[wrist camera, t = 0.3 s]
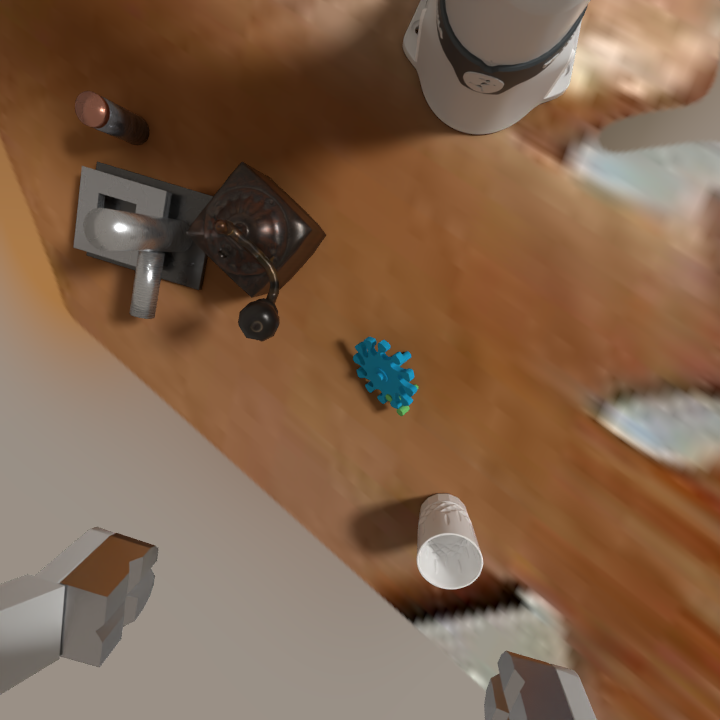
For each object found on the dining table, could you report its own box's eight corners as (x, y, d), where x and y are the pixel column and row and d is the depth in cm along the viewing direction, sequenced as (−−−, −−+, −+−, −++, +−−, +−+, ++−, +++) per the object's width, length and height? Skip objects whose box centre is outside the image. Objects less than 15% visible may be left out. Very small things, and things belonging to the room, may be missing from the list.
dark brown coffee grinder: (215, 241, 55) (126, 234, 38) (268, 174, 53) (199, 133, 35) (301, 324, 57) (254, 353, 39) (358, 262, 54) (334, 266, 37)
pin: (125, 111, 53) (76, 87, 45) (150, 119, 53) (106, 95, 45) (121, 140, 54) (73, 121, 46) (146, 148, 54) (102, 130, 46)
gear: (339, 342, 55) (390, 341, 47) (370, 322, 58) (423, 318, 50) (370, 413, 58) (423, 423, 51) (398, 390, 62) (452, 396, 54)
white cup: (438, 478, 60) (443, 521, 50) (482, 510, 60) (496, 558, 51) (404, 516, 62) (403, 565, 52) (447, 547, 62) (455, 600, 53)
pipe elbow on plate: (101, 162, 55) (-8, 129, 40) (218, 198, 54) (150, 177, 40) (87, 283, 59) (-16, 292, 44) (196, 317, 58) (126, 337, 44)
